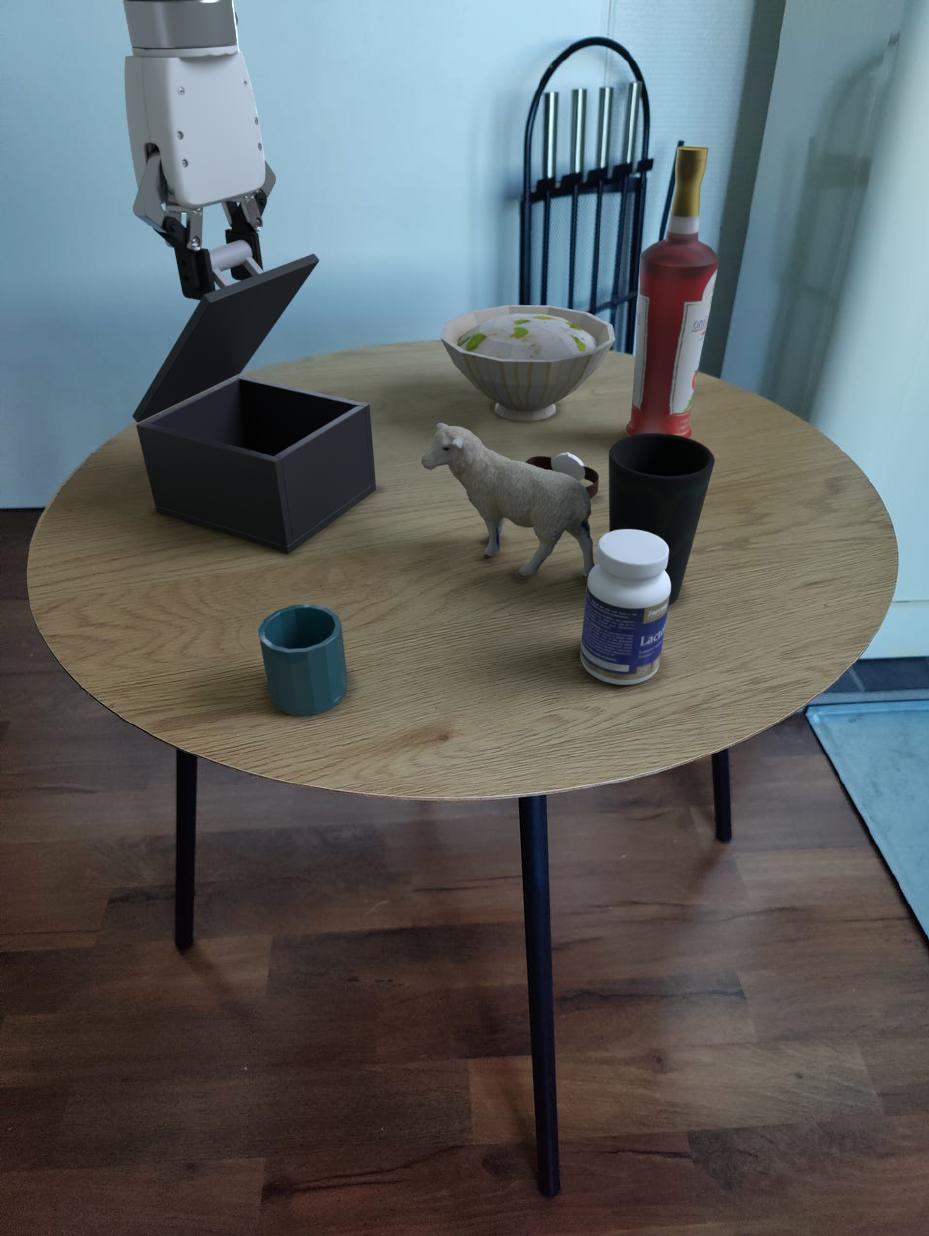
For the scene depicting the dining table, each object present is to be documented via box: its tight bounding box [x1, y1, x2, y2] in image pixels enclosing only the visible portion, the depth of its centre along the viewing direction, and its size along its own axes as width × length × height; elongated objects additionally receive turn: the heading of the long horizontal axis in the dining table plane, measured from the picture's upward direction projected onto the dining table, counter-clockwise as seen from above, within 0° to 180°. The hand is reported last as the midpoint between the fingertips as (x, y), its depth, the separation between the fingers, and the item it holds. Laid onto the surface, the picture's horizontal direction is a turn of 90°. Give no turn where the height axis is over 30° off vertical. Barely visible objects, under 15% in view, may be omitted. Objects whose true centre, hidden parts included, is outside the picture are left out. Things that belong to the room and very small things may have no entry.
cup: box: [608, 433, 716, 607], centre depth 70 cm, size 8×8×12 cm
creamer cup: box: [257, 603, 349, 717], centre depth 62 cm, size 5×6×6 cm
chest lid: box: [131, 240, 320, 424], centre depth 78 cm, size 16×14×5 cm
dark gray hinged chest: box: [135, 374, 377, 555], centre depth 84 cm, size 16×14×9 cm
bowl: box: [439, 304, 616, 422], centre depth 101 cm, size 19×19×10 cm
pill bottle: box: [579, 529, 671, 686], centre depth 63 cm, size 6×6×10 cm
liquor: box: [624, 145, 721, 439], centre depth 88 cm, size 7×7×28 cm
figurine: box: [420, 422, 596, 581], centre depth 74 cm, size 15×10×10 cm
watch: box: [524, 451, 600, 500], centre depth 86 cm, size 8×5×4 cm, turn 57°
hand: (224, 287), depth 76 cm, fingers closed on chest lid, 5 cm apart
